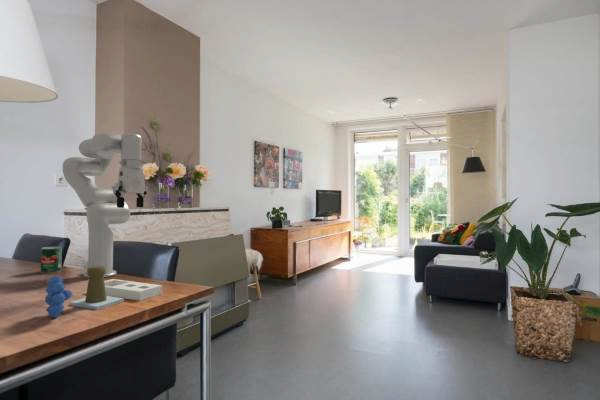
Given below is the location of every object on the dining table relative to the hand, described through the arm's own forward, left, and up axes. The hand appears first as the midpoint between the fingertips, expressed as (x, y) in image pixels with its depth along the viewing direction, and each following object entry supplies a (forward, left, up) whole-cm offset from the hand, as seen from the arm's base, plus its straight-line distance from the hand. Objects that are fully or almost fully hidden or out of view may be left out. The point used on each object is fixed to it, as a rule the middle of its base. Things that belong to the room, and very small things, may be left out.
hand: (130, 207), depth 147 cm
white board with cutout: (+12, -13, -30) cm, 35 cm away
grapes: (+16, -40, -31) cm, 53 cm away
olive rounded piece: (+14, -26, -30) cm, 42 cm away
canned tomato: (-48, +1, -31) cm, 57 cm away
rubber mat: (+14, -26, -30) cm, 42 cm away
